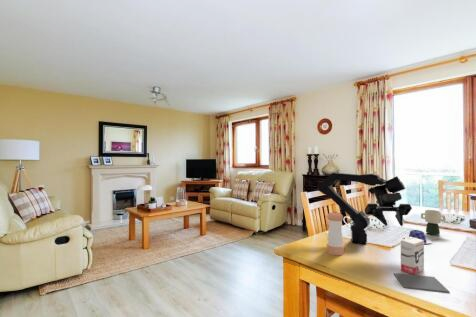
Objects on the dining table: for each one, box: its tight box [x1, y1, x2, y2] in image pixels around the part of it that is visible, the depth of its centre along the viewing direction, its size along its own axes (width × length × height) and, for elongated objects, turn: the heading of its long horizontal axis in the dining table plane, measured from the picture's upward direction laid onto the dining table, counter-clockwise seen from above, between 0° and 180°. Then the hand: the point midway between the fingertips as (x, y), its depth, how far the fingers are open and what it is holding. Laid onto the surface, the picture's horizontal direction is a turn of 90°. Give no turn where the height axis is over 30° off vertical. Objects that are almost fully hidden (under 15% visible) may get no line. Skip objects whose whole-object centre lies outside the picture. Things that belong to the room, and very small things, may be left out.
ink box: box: [400, 237, 425, 275], centre depth 99 cm, size 8×5×12 cm, turn 123°
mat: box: [393, 272, 450, 294], centre depth 89 cm, size 13×10×1 cm
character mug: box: [420, 209, 446, 235], centre depth 145 cm, size 11×7×13 cm, turn 49°
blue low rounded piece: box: [408, 229, 433, 245], centre depth 134 cm, size 12×12×5 cm
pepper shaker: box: [326, 210, 345, 256], centre depth 118 cm, size 7×7×19 cm
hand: (394, 225), depth 113 cm, fingers open, 6 cm apart
